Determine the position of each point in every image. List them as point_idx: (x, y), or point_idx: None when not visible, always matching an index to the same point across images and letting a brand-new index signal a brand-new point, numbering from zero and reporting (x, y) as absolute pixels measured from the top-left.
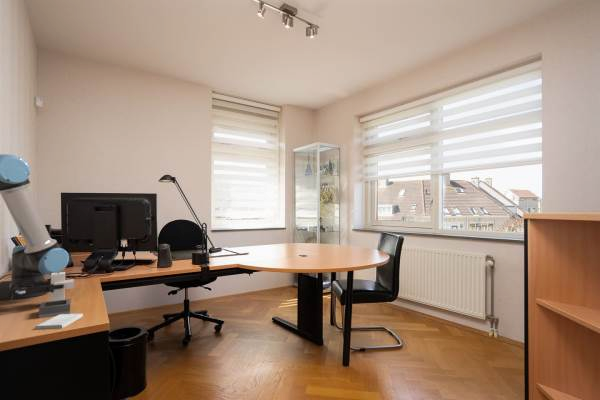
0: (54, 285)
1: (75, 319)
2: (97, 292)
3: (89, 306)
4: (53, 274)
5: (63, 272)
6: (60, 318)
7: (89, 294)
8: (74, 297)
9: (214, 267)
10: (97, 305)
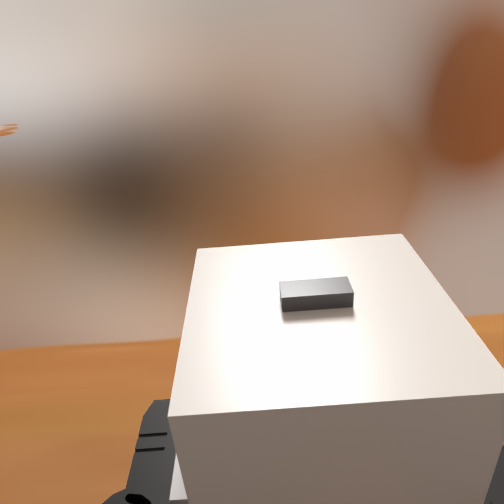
0: (495, 489)
1: None
2: (64, 348)
3: (500, 360)
4: (460, 353)
5: (251, 257)
6: None
7: (84, 384)
8: (100, 477)
9: (12, 133)
10: (478, 328)
